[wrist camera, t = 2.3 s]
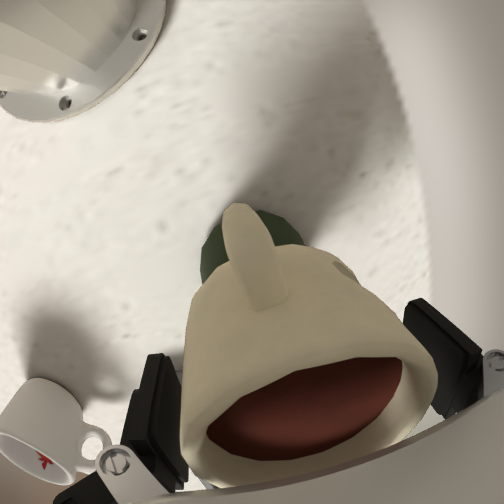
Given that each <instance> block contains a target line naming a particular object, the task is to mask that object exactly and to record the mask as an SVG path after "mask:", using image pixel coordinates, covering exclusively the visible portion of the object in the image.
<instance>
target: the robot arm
mask: <svg viewBox="0 0 504 504" xmlns="http://www.w3.org/2000/svg"><path fill="white" fill-rule="evenodd" d="M165 13H166V0H0V106H1V107H2V108H3V109H4V110H5V111H6V112H7V113H8V114H10V115H12V116H13V117H15V118H17V119H20V120H24V121H29V122H41V123H46V122H54V121H61V120H64V119H67V118H70V117H73V116H77V115H79V114H81V113H83V112H84V111H86V110H88V109H90V108H92V107H94V106H96V105H97V104H99V103H100V102H101V101H103V100H104V99H106V98H107V97H109V96H110V95H112V94H113V93H114V92H115V91H116V90H117V89H118V88H119V87H120V86H121V85H123V84H124V83H125V82H126V81H127V80H128V79H129V78H130V77H131V75H132V74H133V73H134V72H135V71H136V70H137V69H138V67H139V66H140V65H141V64H142V63H143V61H144V59H145V58H146V56H147V55H148V53H149V52H150V50H151V49H152V47H153V46H154V43H155V41H156V39H157V37H158V35H159V33H160V31H161V28H162V24H163V20H164V16H165ZM142 36H146V38H145V39H143V40H141V41H139V39H140V37H142ZM70 101H72V103H71V106H70V107H69V103H70ZM403 325H404V326H405V327H406V328H407V329H408V330H409V331H410V333H411V334H412V335H413V336H414V337H415V338H416V339H417V340H418V341H419V342H420V343H421V344H422V345H423V347H424V348H425V349H426V350H427V352H428V353H429V354H430V355H431V357H432V358H433V361H434V364H435V367H436V370H437V373H438V383H437V389H436V392H435V395H434V398H433V400H432V402H431V406H432V407H433V408H434V410H435V411H436V412H437V413H438V414H439V415H442V416H443V417H444V419H445V420H444V421H442V422H440V423H438V424H436V425H435V426H433V427H431V428H429V429H427V430H425V431H422V432H420V433H418V434H416V435H414V436H412V437H410V438H407V439H405V440H403V441H401V442H398V443H396V444H394V445H391V446H389V447H386V448H384V449H381V450H379V451H376V452H373V453H371V454H368V455H365V456H363V457H360V458H357V459H354V460H351V461H348V462H345V463H341V464H338V465H335V466H332V467H328V468H325V469H321V470H317V471H313V472H310V473H306V474H301V475H297V476H293V477H288V478H283V479H278V480H273V481H268V482H262V483H256V484H249V485H242V486H235V487H227V488H218V489H206V490H196V491H185V492H176V493H175V490H184V482H188V476H189V466H188V464H187V463H186V461H185V459H184V458H183V456H182V455H181V447H180V416H181V393H182V386H181V384H180V381H179V379H178V377H177V374H176V372H175V369H174V366H173V364H172V361H171V359H170V357H169V356H166V357H165V355H164V354H163V353H159V354H149V355H148V357H147V360H146V364H145V368H144V371H143V375H142V379H141V383H140V387H139V389H135V390H134V391H133V393H132V396H131V400H130V404H129V408H128V412H127V416H126V420H125V424H124V428H123V433H122V437H121V442H120V445H111V446H109V447H106V448H104V449H103V450H102V451H100V453H99V454H98V455H97V458H96V460H95V467H96V471H95V472H93V473H91V474H90V475H88V476H87V477H85V478H84V479H82V480H81V481H79V482H77V483H76V484H74V485H73V486H71V487H69V488H68V489H66V490H65V491H63V492H61V493H60V494H58V495H57V496H56V497H55V499H54V501H53V504H504V351H502V350H498V349H497V350H496V349H495V350H490V351H488V352H487V353H485V355H484V356H483V355H482V354H481V352H482V349H481V348H480V347H479V346H478V345H477V344H476V343H474V342H473V341H472V340H471V339H470V338H469V337H468V336H467V335H465V334H464V333H463V332H462V331H461V330H460V329H459V328H457V327H456V326H455V325H454V324H453V323H452V322H450V321H449V320H448V319H447V318H446V317H444V316H443V315H442V314H441V313H440V312H439V311H437V310H436V309H435V308H434V307H433V306H431V305H430V304H429V303H428V302H427V301H425V300H424V299H423V298H418V299H415V300H412V301H410V302H408V305H407V306H406V307H405V311H404V318H403ZM456 412H457V414H455V413H456Z"/></svg>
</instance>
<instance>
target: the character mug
mask: <svg viewBox="0 0 504 504" xmlns="http://www.w3.org/2000/svg"><path fill="white" fill-rule="evenodd" d="M200 272H201V278H202V284H203V285H202V286H201V287H200V288H199V290H198V291H197V292H196V293H195V295H194V297H193V299H192V302H191V306H190V311H189V316H188V321H187V326H186V334H185V346H184V360H183V375H182V393H181V416H180V447H181V455H182V456H183V458H184V459H185V461H186V463H187V464H188V466H189V467H190V469H191V470H192V472H193V473H194V475H195V476H197V477H199V478H201V479H202V480H204V481H206V482H208V483H211V484H213V485H215V486H217V487H219V488H227V487H235V486H242V485H249V484H256V483H262V482H268V481H273V480H278V479H283V478H288V477H293V476H297V475H301V474H306V473H310V472H313V471H317V470H321V469H325V468H328V467H332V466H335V465H338V464H341V463H345V462H348V461H351V460H354V459H357V458H360V457H363V456H365V455H368V454H371V453H373V452H376V451H379V450H381V449H384V448H386V447H389V446H391V445H394V444H396V443H398V442H401V441H402V440H403V439H404V438H405V437H406V436H407V435H408V434H409V433H410V432H411V430H412V429H413V428H414V427H415V426H416V425H417V424H418V423H419V421H420V420H421V419H422V418H423V416H424V414H425V413H426V411H427V409H428V408H429V406H430V404H431V402H432V400H433V398H434V395H435V392H436V389H437V383H438V373H437V370H436V367H435V364H434V361H433V358H432V357H431V355H430V354H429V353H428V352H427V350H426V349H425V348H424V347H423V345H422V344H421V343H420V342H419V341H418V340H417V339H416V338H415V337H414V336H413V335H412V334H411V333H410V331H409V330H408V329H407V328H406V327H405V326H404V325H403V323H402V322H401V321H400V319H399V318H398V317H397V315H396V314H395V312H394V311H392V310H391V309H390V308H389V307H388V306H387V305H386V304H385V303H384V302H383V301H381V300H380V299H379V298H378V297H377V296H376V295H374V294H373V293H371V292H370V291H368V290H367V289H365V288H364V287H362V286H361V285H360V283H359V282H358V280H357V278H356V277H355V275H354V273H353V271H352V270H350V269H349V268H348V267H347V266H346V265H345V264H344V263H343V262H342V261H341V260H340V259H339V258H337V257H336V256H334V255H333V254H331V253H329V252H326V251H323V250H320V249H316V248H313V247H308V246H306V245H305V244H304V242H303V240H302V239H301V237H300V235H299V234H298V232H297V231H296V230H295V229H294V228H293V227H292V226H291V225H290V224H289V223H288V222H287V221H286V220H285V219H283V218H282V217H279V216H276V215H273V214H270V213H267V212H264V211H261V210H259V211H254V210H253V209H252V208H251V207H250V206H249V205H248V204H244V203H232V204H231V205H230V206H229V207H228V208H227V209H226V210H225V211H224V212H223V218H222V224H220V225H219V226H217V227H216V228H214V230H213V231H212V233H211V234H210V236H209V238H208V239H207V241H206V242H205V244H204V245H203V247H202V252H201V266H200Z"/></svg>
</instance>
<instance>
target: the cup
mask: <svg viewBox="0 0 504 504" xmlns="http://www.w3.org/2000/svg"><path fill="white" fill-rule="evenodd" d="M90 437H96V438H98V439H100V440H101V441H102V443H103V449H104V448H106V447H109V446H111V445H112V442H111V439H110V437H109V435H108V434H107V433H106V432H105V431H104V430H103V429H101V428H99V427H97V426H94V425H90V424H87V423H85V422H84V421H83V414H82V410H81V407H80V405H79V403H78V402H77V400H76V399H75V398H74V397H73V396H72V395H71V394H70V393H69V392H68V391H67V390H66V389H64V388H63V387H61V386H60V385H58V384H56V383H55V382H52V381H50V380H47V379H43V378H32V379H30V380H28V381H26V382H25V383H24V384H23V385H22V386H21V387H20V388H19V390H18V391H17V392H16V394H15V395H14V397H13V398H12V399H11V401H10V402H9V404H8V405H7V406H6V408H5V409H4V411H3V412H2V414H1V415H0V452H1V453H2V454H3V455H4V456H5V457H6V458H8V459H9V460H10V461H11V462H13V463H14V464H15V465H16V466H18V467H19V468H21V469H23V470H24V471H26V472H28V473H29V474H31V475H33V476H35V477H37V478H40V479H42V480H44V481H47V482H50V483H54V484H58V485H70V484H72V483H73V482H74V480H75V476H76V472H77V471H82V472H92V473H93V472H95V471H96V467H95V460H96V459H95V460H88V459H86V458H84V457H83V456H82V453H81V449H82V445H83V443H84V441H85V440H86V439H88V438H90Z"/></svg>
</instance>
